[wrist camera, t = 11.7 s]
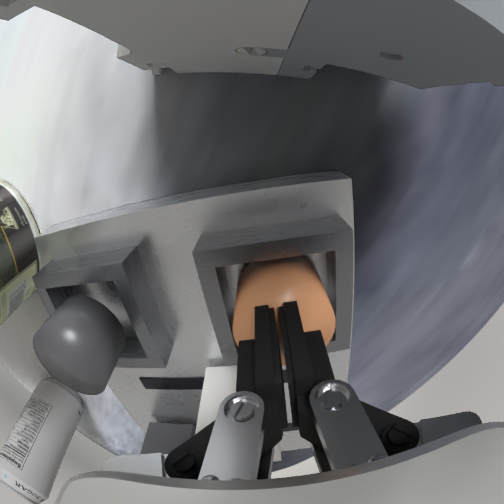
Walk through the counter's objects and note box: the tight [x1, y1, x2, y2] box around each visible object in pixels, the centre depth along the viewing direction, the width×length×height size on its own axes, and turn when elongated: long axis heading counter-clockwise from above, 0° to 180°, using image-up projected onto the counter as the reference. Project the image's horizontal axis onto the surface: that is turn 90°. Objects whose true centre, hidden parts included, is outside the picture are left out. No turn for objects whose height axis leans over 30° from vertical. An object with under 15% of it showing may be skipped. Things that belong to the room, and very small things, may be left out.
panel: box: [32, 171, 354, 451], centre depth 18 cm, size 18×24×4 cm
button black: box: [33, 295, 126, 395], centre depth 12 cm, size 4×4×3 cm
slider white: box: [195, 365, 281, 461], centre depth 15 cm, size 4×4×5 cm
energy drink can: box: [0, 378, 83, 504], centre depth 17 cm, size 6×6×15 cm
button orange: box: [233, 256, 336, 366], centre depth 13 cm, size 4×4×3 cm
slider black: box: [141, 422, 196, 454], centre depth 18 cm, size 4×4×5 cm
